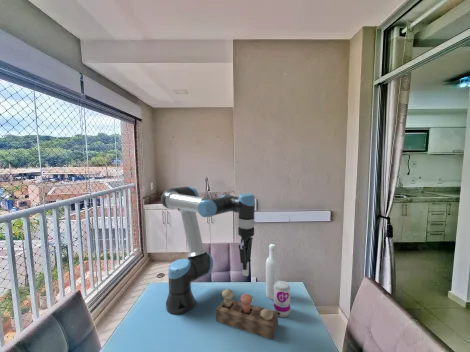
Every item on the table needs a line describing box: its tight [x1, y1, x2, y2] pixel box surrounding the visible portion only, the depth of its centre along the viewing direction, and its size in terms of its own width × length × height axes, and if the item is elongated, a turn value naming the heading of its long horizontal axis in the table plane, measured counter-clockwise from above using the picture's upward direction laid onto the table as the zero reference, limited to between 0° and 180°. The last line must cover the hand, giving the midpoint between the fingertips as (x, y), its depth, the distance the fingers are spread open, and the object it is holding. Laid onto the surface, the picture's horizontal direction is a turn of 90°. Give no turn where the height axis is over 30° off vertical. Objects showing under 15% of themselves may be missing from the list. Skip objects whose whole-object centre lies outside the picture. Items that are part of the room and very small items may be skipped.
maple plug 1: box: [221, 289, 234, 309], centre depth 109 cm, size 6×6×7 cm
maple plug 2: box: [261, 308, 273, 321], centre depth 101 cm, size 6×6×7 cm
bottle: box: [265, 243, 280, 301], centre depth 125 cm, size 8×8×30 cm
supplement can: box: [273, 280, 291, 318], centre depth 112 cm, size 8×8×15 cm
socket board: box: [215, 298, 279, 340], centre depth 105 cm, size 28×10×6 cm, turn 66°
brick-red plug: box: [240, 293, 253, 314], centre depth 105 cm, size 6×6×7 cm
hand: (245, 274), depth 104 cm, fingers closed
